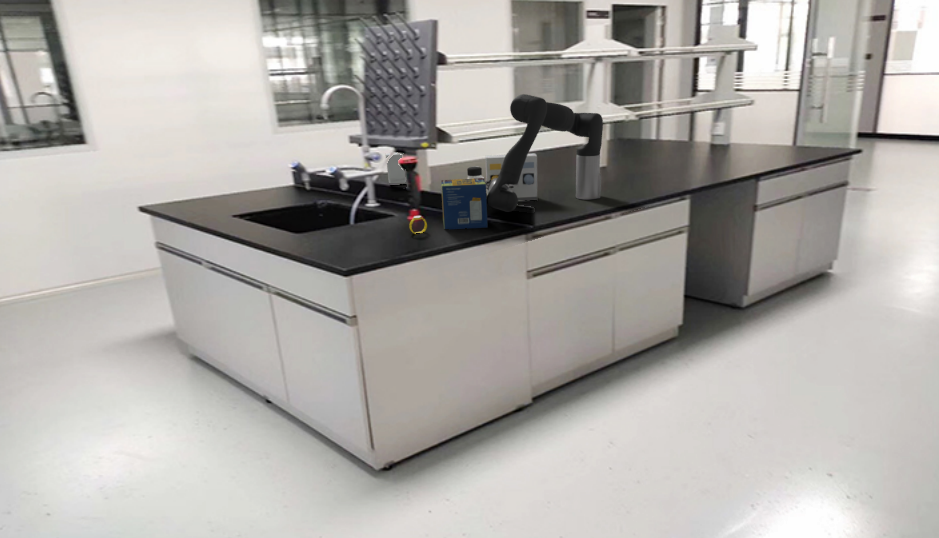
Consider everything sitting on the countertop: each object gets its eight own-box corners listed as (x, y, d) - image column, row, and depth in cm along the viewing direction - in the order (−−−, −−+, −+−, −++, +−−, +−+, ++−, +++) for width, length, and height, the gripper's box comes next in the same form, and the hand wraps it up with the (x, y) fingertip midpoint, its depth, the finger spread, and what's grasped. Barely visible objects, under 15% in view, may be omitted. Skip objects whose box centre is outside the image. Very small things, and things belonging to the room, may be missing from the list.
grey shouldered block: (405, 182, 293) (403, 151, 288) (407, 185, 288) (404, 153, 283) (388, 184, 292) (385, 152, 287) (389, 186, 286) (386, 154, 281)
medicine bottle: (482, 197, 258) (481, 168, 254) (465, 197, 259) (464, 168, 255) (485, 193, 264) (484, 165, 260) (468, 193, 266) (467, 165, 262)
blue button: (532, 182, 246) (532, 173, 245) (533, 184, 242) (533, 175, 241) (523, 182, 246) (523, 173, 245) (524, 185, 242) (524, 175, 241)
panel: (535, 197, 253) (535, 153, 247) (537, 200, 247) (537, 155, 241) (487, 199, 253) (485, 155, 247) (487, 203, 247) (486, 158, 241)
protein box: (443, 222, 222) (440, 179, 217) (485, 219, 222) (484, 177, 217) (443, 230, 212) (441, 185, 207) (488, 227, 213) (486, 183, 207)
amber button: (499, 182, 248) (499, 173, 247) (500, 185, 244) (500, 176, 243) (490, 183, 248) (490, 174, 247) (491, 185, 244) (491, 176, 243)
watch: (412, 236, 207) (410, 219, 205) (409, 234, 210) (407, 217, 208) (428, 232, 210) (426, 215, 208) (425, 230, 212) (423, 214, 210)
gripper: (516, 178, 226) (512, 170, 242) (480, 180, 226) (479, 172, 242) (517, 198, 228) (512, 189, 245) (481, 200, 228) (479, 190, 245)
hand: (496, 180), depth 243 cm, fingers closed
